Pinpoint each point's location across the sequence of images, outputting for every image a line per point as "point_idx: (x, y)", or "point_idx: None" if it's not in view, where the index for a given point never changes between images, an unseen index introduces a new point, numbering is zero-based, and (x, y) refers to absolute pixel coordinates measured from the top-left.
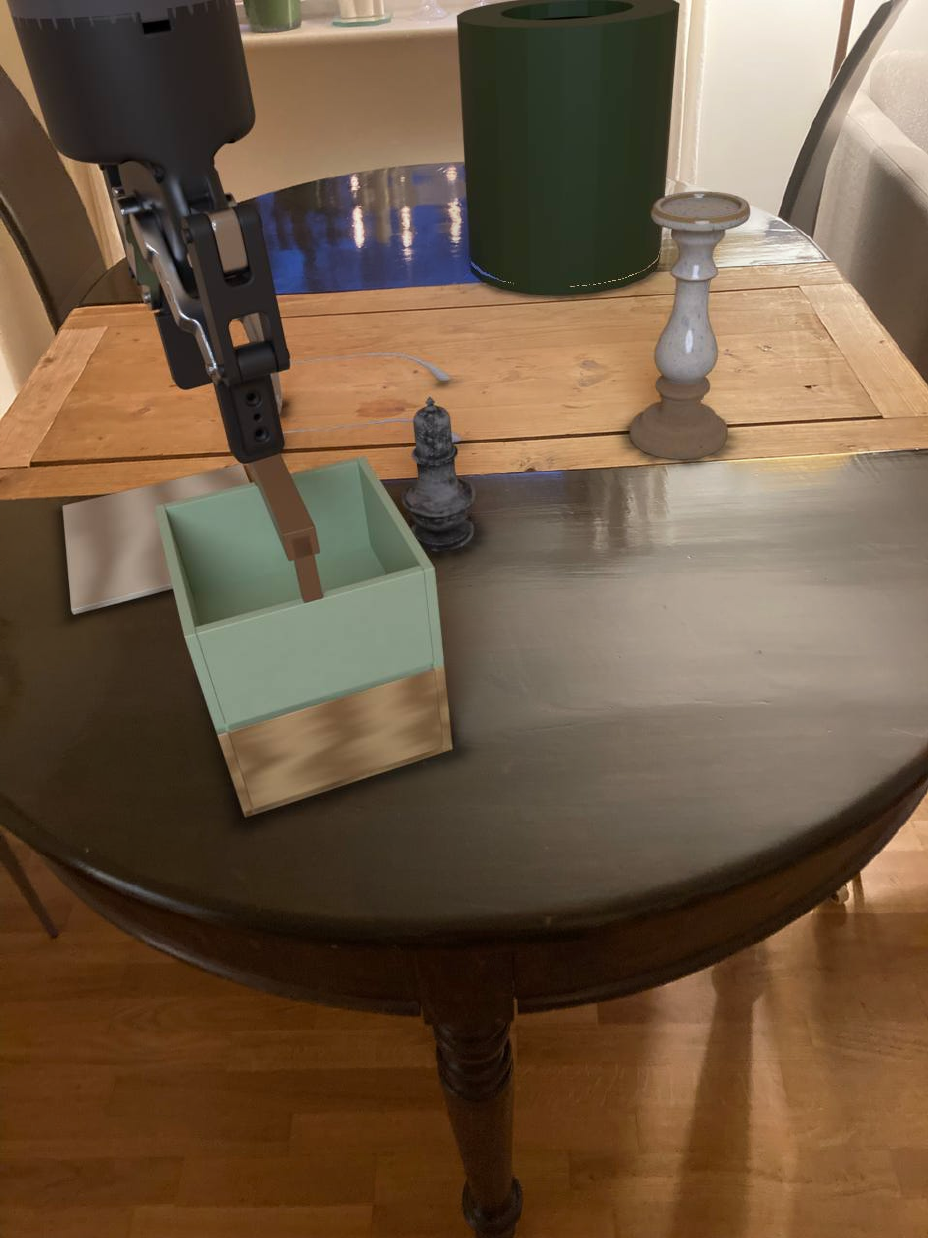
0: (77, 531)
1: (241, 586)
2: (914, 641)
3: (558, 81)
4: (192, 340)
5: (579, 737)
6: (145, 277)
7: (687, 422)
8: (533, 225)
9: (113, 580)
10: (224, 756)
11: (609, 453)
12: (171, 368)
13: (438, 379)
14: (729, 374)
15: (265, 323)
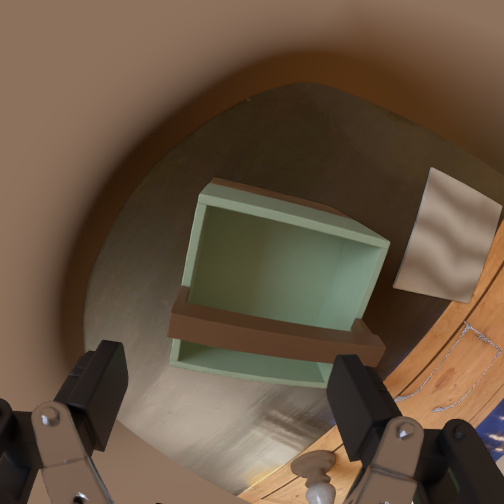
0: (483, 202)
1: (333, 257)
2: (147, 441)
3: None
4: (346, 415)
5: (164, 337)
6: (362, 483)
7: (306, 470)
8: (452, 473)
9: (439, 198)
10: (211, 181)
11: (327, 442)
12: (349, 368)
13: (436, 407)
14: None
15: (7, 481)
